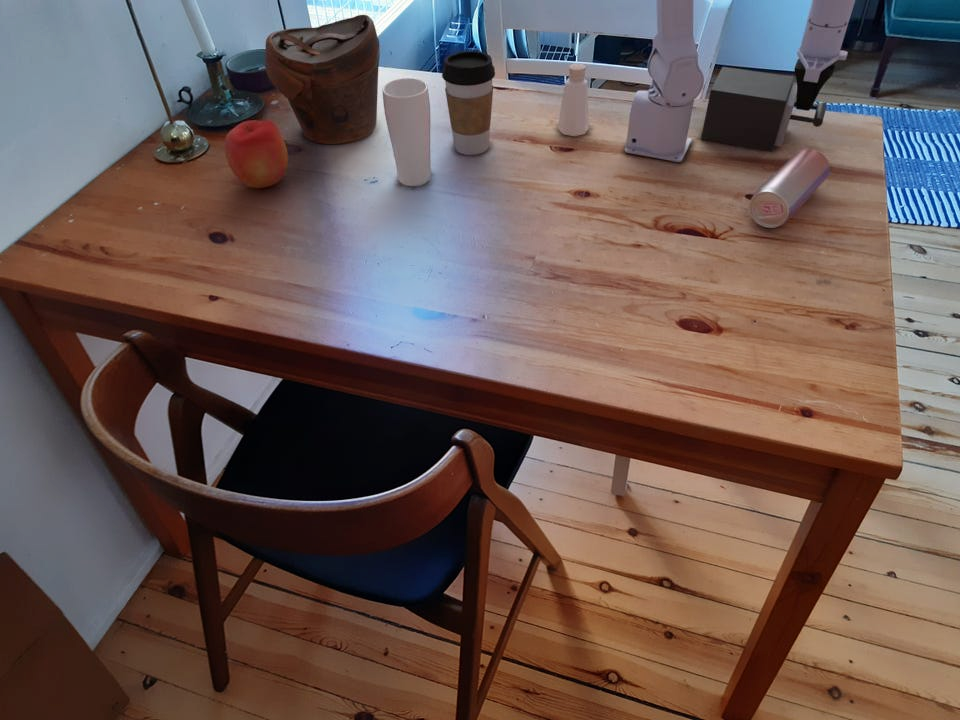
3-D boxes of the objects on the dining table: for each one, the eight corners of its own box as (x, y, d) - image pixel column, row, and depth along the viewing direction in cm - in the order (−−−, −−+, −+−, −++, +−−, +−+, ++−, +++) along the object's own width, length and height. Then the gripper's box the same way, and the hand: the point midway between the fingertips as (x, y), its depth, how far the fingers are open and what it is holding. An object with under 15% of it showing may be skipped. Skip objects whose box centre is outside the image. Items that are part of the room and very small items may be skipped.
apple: (300, 167, 117) (287, 109, 110) (288, 199, 111) (273, 139, 103) (243, 168, 118) (226, 111, 111) (227, 200, 111) (208, 140, 104)
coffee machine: (780, 125, 122) (794, 76, 116) (772, 151, 116) (786, 101, 110) (712, 115, 126) (722, 66, 120) (700, 139, 120) (710, 89, 114)
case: (261, 136, 126) (233, 31, 113) (345, 96, 136) (329, -4, 123) (327, 167, 117) (305, 58, 104) (412, 122, 127) (401, 17, 115)
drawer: (819, 128, 119) (831, 89, 115) (813, 151, 114) (826, 111, 109) (725, 113, 124) (734, 75, 120) (716, 135, 119) (724, 95, 114)
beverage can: (833, 183, 106) (792, 229, 98) (793, 185, 110) (751, 229, 103) (829, 145, 104) (786, 188, 96) (788, 149, 108) (744, 191, 100)
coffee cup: (438, 154, 119) (431, 64, 108) (458, 131, 125) (453, 44, 114) (485, 162, 117) (482, 71, 106) (503, 138, 122) (502, 50, 112)
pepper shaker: (590, 136, 122) (595, 72, 114) (558, 136, 122) (561, 73, 114) (587, 121, 126) (592, 58, 118) (556, 122, 126) (559, 59, 118)
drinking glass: (443, 173, 115) (436, 81, 104) (423, 194, 110) (414, 100, 100) (406, 165, 117) (396, 74, 106) (385, 185, 112) (372, 93, 102)
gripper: (852, 41, 100) (824, 131, 109) (860, 6, 109) (834, 92, 119) (799, 35, 102) (776, 124, 112) (812, 2, 111) (789, 87, 121)
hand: (803, 108), depth 115 cm, fingers closed, pressing on drawer
